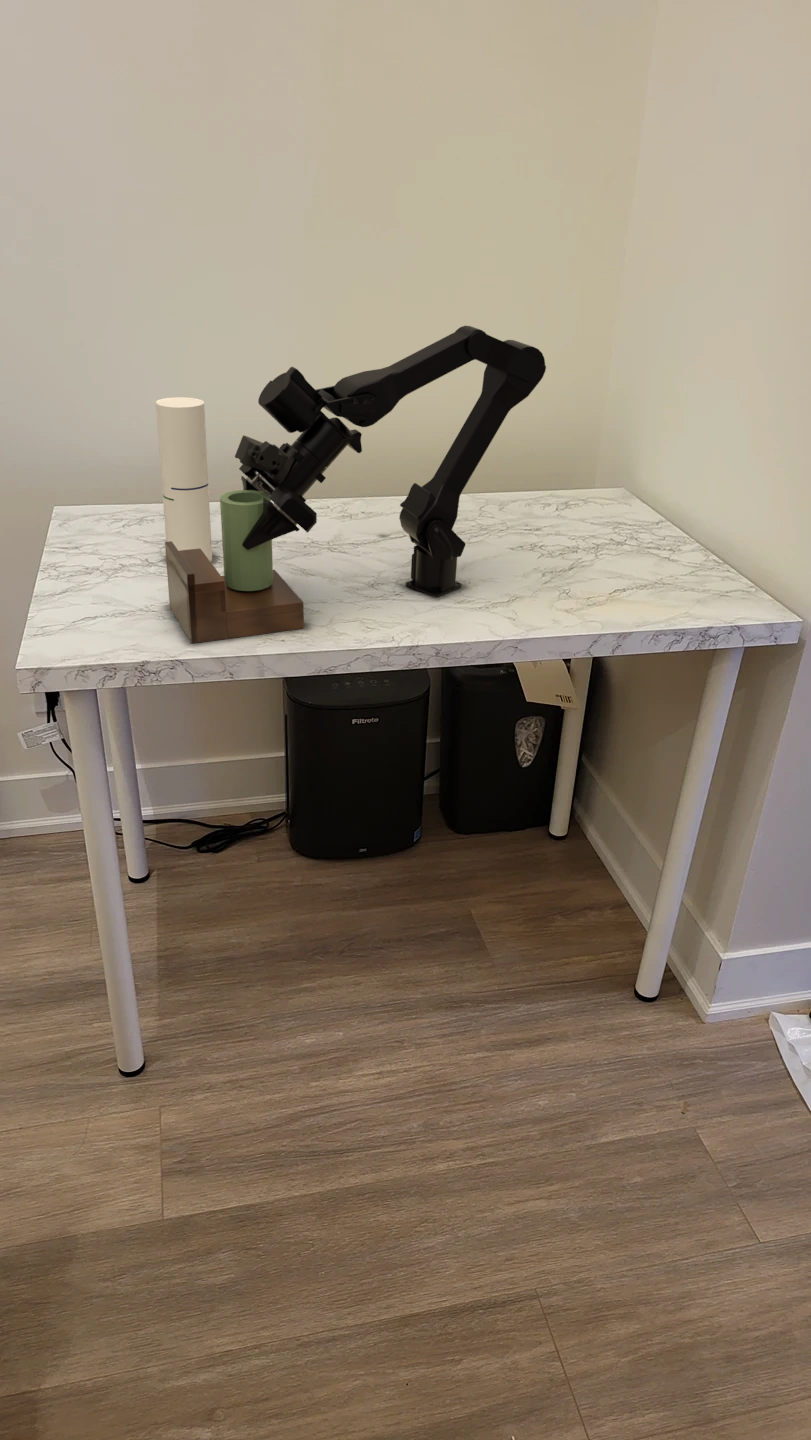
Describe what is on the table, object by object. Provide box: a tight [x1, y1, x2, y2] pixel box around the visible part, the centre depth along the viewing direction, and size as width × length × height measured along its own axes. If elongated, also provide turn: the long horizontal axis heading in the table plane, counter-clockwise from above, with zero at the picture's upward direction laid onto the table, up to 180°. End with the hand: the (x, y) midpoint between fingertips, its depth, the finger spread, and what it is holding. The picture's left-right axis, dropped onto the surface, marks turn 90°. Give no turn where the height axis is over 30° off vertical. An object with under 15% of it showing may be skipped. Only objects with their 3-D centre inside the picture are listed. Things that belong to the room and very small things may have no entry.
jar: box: [219, 489, 274, 591], centre depth 145 cm, size 7×7×12 cm
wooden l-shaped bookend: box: [164, 541, 305, 644], centre depth 146 cm, size 16×13×10 cm
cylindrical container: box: [155, 396, 213, 563], centre depth 162 cm, size 7×7×25 cm
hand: (237, 539), depth 145 cm, fingers closed on jar, 7 cm apart
